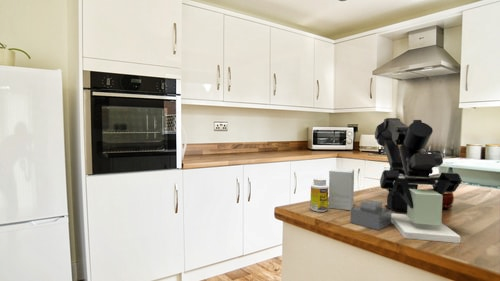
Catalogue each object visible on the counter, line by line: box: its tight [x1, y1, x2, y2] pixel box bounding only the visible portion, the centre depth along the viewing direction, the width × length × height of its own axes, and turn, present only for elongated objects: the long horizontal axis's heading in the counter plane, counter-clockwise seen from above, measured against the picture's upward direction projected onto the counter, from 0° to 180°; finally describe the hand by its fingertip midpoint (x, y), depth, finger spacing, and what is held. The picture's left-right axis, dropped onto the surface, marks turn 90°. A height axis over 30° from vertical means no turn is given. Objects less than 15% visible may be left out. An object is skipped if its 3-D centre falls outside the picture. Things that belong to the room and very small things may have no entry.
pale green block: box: [406, 188, 444, 225], centre depth 75 cm, size 6×6×8 cm
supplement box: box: [328, 167, 355, 211], centre depth 98 cm, size 7×7×13 cm
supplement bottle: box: [310, 177, 329, 213], centre depth 94 cm, size 6×6×10 cm
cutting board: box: [391, 212, 461, 244], centre depth 77 cm, size 16×12×2 cm
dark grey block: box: [350, 199, 393, 231], centre depth 81 cm, size 8×8×6 cm
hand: (425, 208), depth 74 cm, fingers closed on pale green block, 6 cm apart
